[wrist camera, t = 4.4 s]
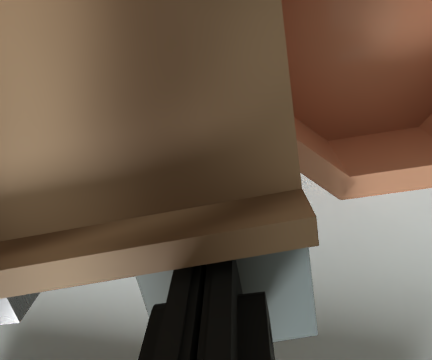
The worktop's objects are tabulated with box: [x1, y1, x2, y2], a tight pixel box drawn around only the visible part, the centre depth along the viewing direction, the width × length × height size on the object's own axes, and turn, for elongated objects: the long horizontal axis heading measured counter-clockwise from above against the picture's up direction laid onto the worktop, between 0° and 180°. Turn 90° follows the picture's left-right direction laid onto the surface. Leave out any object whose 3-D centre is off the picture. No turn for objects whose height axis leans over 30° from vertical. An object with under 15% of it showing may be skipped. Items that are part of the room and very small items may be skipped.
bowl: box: [281, 0, 432, 200], centre depth 13 cm, size 10×10×4 cm
